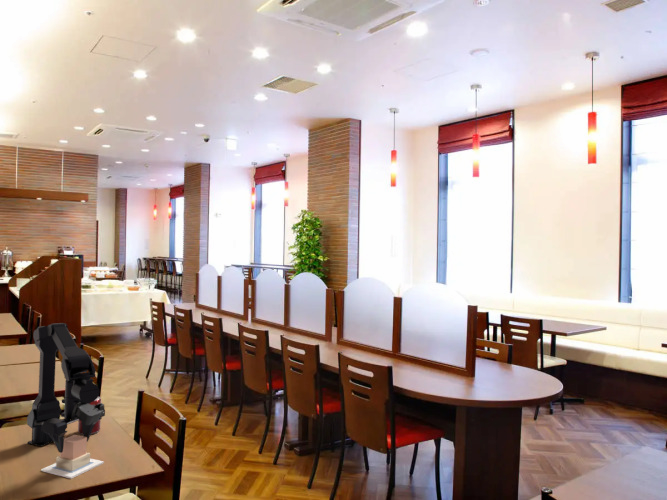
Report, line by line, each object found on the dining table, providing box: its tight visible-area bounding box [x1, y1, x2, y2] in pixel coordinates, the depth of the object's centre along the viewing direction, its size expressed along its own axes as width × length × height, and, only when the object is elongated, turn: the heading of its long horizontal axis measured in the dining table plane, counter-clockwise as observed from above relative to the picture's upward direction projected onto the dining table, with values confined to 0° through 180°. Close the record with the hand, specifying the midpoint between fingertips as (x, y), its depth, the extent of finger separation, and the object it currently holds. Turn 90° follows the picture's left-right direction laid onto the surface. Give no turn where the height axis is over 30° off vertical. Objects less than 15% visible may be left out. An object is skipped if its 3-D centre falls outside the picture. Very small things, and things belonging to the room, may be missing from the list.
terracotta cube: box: [59, 434, 88, 459], centre depth 155 cm, size 5×5×5 cm
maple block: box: [55, 451, 91, 471], centre depth 155 cm, size 6×6×3 cm
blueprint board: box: [40, 457, 105, 479], centre depth 155 cm, size 12×12×1 cm
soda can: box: [77, 396, 102, 436], centre depth 184 cm, size 7×7×12 cm
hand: (73, 446), depth 155 cm, fingers open, 9 cm apart
